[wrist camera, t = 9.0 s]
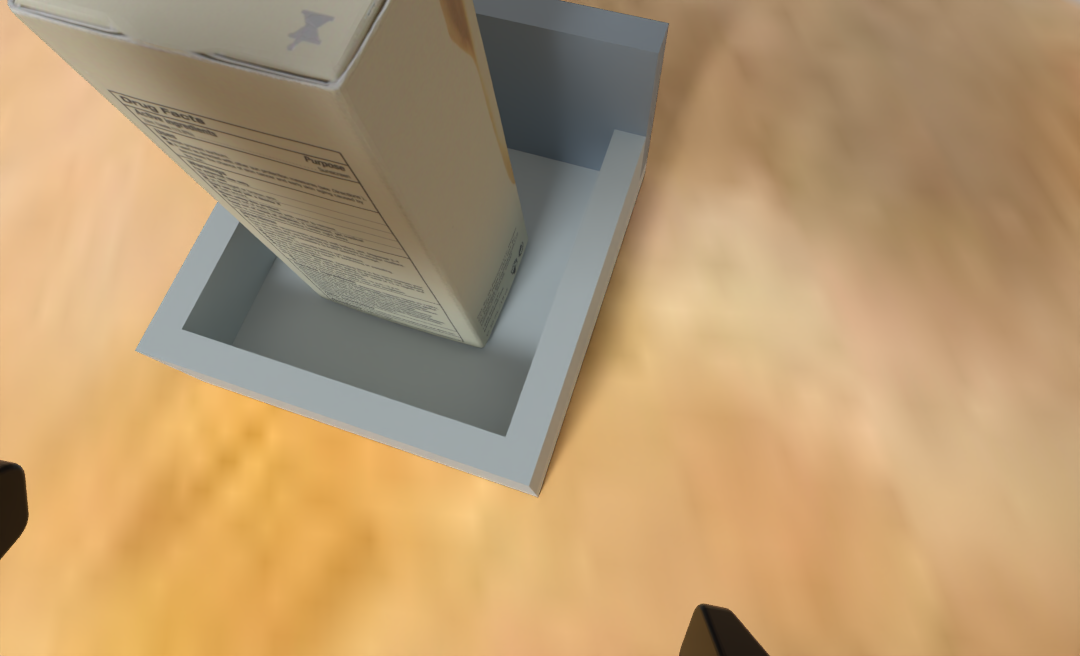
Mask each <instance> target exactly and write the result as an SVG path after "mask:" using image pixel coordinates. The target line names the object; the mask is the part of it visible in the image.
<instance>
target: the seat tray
mask: <svg viewBox="0 0 1080 656" xmlns="http://www.w3.org/2000/svg"><path fill="white" fill-rule="evenodd" d="M473 4H474V7H475V13H476V17H477V22H478V26H479V30H480V34H481V38H482V42H483V46H484V50H485V55H486V59H487V63H488V67H489V72H490V76H491V80H492V84H493V89H494V94H495V98H496V102H497V106H498V110H499V114H500V118H501V123H502V127H503V132H504V136H505V141H506V145H507V149H508V154H509V158H510V162H511V167H512V170H513V175H514V179H515V183H516V187H517V192H518V196H519V200H520V204H521V209H522V213H523V217H524V222H525V227H526V231H527V235H528V242H527V245H526V248H525V251H524V254H523V256H522V259H521V262H520V265H519V267H518V270H517V273H516V275H515V278H514V280H513V283H512V285H511V288H510V290H509V293H508V295H507V297H506V300H505V302H504V304H503V307H502V309H501V311H500V314H499V316H498V318H497V321H496V323H495V325H494V327H493V330H492V332H491V334H490V336H489V339H488V341H487V343H486V345H485V346H484V347H483V348H478V347H474V346H471V345H468V344H464V343H460V342H456V341H453V340H449V339H446V338H443V337H439V336H436V335H432V334H429V333H426V332H423V331H419V330H416V329H413V328H410V327H407V326H403V325H400V324H397V323H394V322H391V321H388V320H385V319H381V318H378V317H375V316H372V315H370V314H367V313H364V312H361V311H358V310H355V309H352V308H349V307H346V306H344V305H341V304H338V303H336V302H333V301H330V300H327V299H325V298H323V297H321V296H320V295H319V294H317V293H316V292H315V291H314V290H313V289H312V288H311V287H310V286H309V285H308V284H307V283H305V282H304V281H303V280H302V279H301V278H300V277H299V276H298V275H297V274H296V273H295V272H294V271H293V270H291V269H290V268H289V267H288V266H287V265H286V264H285V263H284V262H283V261H282V260H281V259H280V258H279V257H277V256H276V255H275V254H274V253H273V252H272V251H271V250H270V249H269V248H268V247H267V246H265V245H264V244H263V243H262V242H261V241H260V240H259V239H258V238H257V237H256V236H255V235H254V234H252V233H251V232H250V231H249V230H248V229H247V228H246V227H245V226H244V225H243V224H242V223H241V222H239V221H238V220H237V219H236V218H235V217H234V216H233V215H232V214H231V213H230V212H229V211H227V210H226V209H225V208H224V207H223V206H222V205H221V204H220V203H219V202H217V204H216V206H215V207H214V209H213V211H212V213H211V215H210V216H209V218H208V220H207V222H206V224H205V225H204V227H203V229H202V231H201V233H200V235H199V236H198V238H197V240H196V242H195V244H194V245H193V247H192V249H191V251H190V253H189V254H188V256H187V258H186V260H185V262H184V263H183V265H182V267H181V269H180V271H179V272H178V274H177V276H176V278H175V280H174V281H173V283H172V285H171V287H170V289H169V290H168V292H167V294H166V296H165V298H164V299H163V301H162V303H161V305H160V307H159V308H158V310H157V312H156V314H155V316H154V317H153V319H152V321H151V323H150V325H149V326H148V328H147V330H146V332H145V334H144V335H143V337H142V339H141V341H140V343H139V344H138V346H137V348H136V350H135V351H137V352H139V353H141V354H143V355H146V356H148V357H150V358H152V359H155V360H157V361H159V362H161V363H164V364H166V365H168V366H170V367H172V368H175V369H177V370H179V371H181V372H184V373H186V374H188V375H190V376H193V377H195V378H197V379H199V380H201V381H204V382H207V383H210V384H212V385H215V386H218V387H221V388H224V389H227V390H230V391H233V392H236V393H238V394H241V395H244V396H247V397H250V398H253V399H256V400H259V401H262V402H264V403H267V404H270V405H273V406H276V407H279V408H282V409H285V410H288V411H290V412H293V413H296V414H299V415H302V416H305V417H308V418H311V419H314V420H316V421H319V422H322V423H325V424H328V425H331V426H334V427H337V428H340V429H342V430H345V431H348V432H351V433H354V434H357V435H360V436H363V437H366V438H368V439H371V440H374V441H377V442H380V443H383V444H386V445H389V446H392V447H394V448H397V449H400V450H403V451H406V452H409V453H412V454H415V455H418V456H420V457H423V458H426V459H429V460H432V461H435V462H438V463H441V464H444V465H446V466H449V467H452V468H455V469H458V470H461V471H464V472H467V473H470V474H472V475H475V476H478V477H481V478H484V479H487V480H490V481H493V482H496V483H498V484H501V485H504V486H507V487H510V488H513V489H516V490H519V491H522V492H524V493H527V494H530V495H533V496H536V497H538V496H539V493H540V490H541V487H542V484H543V481H544V478H545V475H546V472H547V469H548V466H549V463H550V460H551V457H552V454H553V451H554V448H555V445H556V442H557V439H558V436H559V433H560V430H561V426H562V423H563V420H564V417H565V414H566V411H567V408H568V405H569V402H570V399H571V396H572V393H573V390H574V387H575V384H576V381H577V378H578V375H579V372H580V369H581V366H582V363H583V360H584V357H585V354H586V351H587V348H588V344H589V341H590V338H591V335H592V332H593V329H594V326H595V323H596V320H597V317H598V314H599V311H600V308H601V305H602V302H603V299H604V296H605V293H606V290H607V287H608V284H609V281H610V278H611V275H612V272H613V269H614V266H615V263H616V259H617V256H618V253H619V250H620V247H621V244H622V241H623V238H624V235H625V232H626V229H627V226H628V223H629V220H630V217H631V214H632V211H633V208H634V205H635V202H636V199H637V196H638V193H639V190H640V187H641V184H642V181H643V177H644V174H645V169H646V163H647V157H648V151H649V144H650V138H651V132H652V126H653V119H654V113H655V107H656V101H657V94H658V88H659V82H660V75H661V69H662V63H663V57H664V50H665V44H666V38H667V32H668V25H669V23H665V22H660V21H656V20H651V19H646V18H641V17H636V16H632V15H627V14H622V13H617V12H613V11H608V10H603V9H598V8H594V7H589V6H584V5H579V4H575V3H570V2H565V1H560V0H473Z"/></svg>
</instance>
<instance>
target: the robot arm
mask: <svg viewBox="0 0 1080 656" xmlns="http://www.w3.org/2000/svg"><path fill="white" fill-rule="evenodd" d="M28 515H29V513H28V502H27V491H26V480H25V473H24V470H23V469H22V467H21V466H20V465H18V464H16V463H12V462H7V461H3V460H0V559H1V558H2V557H3V556H4V555H5V553H6V552H7V551H8V550H9V549H10V548H11V546H12V545H13V544H14V543H15V542H16V540H17V539H18V538H19V537H20V535H21V534H22V532H23V531H24V529H25V527H26V524H27V521H28ZM679 656H769V654H768V653H767V652H766V651H765V650H764V649H763V647H762V646H761V645H760V644H759V643H758V641H757V640H756V639H755V638H754V637H753V636H752V634H751V633H750V632H749V631H748V630H747V629H746V627H745V626H744V625H743V624H742V623H741V621H740V620H739V619H738V618H737V617H736V616H735V614H734V613H733V612H732V611H730V610H729V609H727V608H723V607H718V606H713V605H709V604H700V605H698V606H697V607H696V609H695V611H694V613H693V616H692V618H691V621H690V624H689V627H688V629H687V632H686V635H685V638H684V640H683V643H682V646H681V649H680V653H679Z"/></svg>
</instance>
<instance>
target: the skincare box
mask: <svg viewBox="0 0 1080 656" xmlns="http://www.w3.org/2000/svg"><path fill="white" fill-rule="evenodd" d="M8 6H9V8H10V9H11V11H12V12H13V13H14V14H15V15H16V16H17V17H18V18H19V19H20V20H21V21H22V22H23V23H24V24H25V25H26V26H27V27H28V28H30V29H31V30H32V31H33V32H34V33H35V34H36V35H37V36H38V37H39V38H40V39H41V40H43V41H44V42H45V43H46V44H47V45H48V46H49V47H50V48H51V49H52V50H53V51H55V52H56V53H57V54H58V55H59V56H60V57H61V58H62V59H63V60H64V61H65V62H67V63H68V64H69V65H70V66H71V67H72V68H73V69H74V70H75V71H76V72H77V73H79V74H80V75H81V76H82V77H83V78H84V79H85V80H86V81H87V82H88V83H89V84H91V85H92V86H93V87H94V88H95V89H96V90H97V91H98V92H99V93H100V94H101V95H103V96H104V97H105V98H106V99H107V100H108V101H109V102H110V103H111V104H112V105H113V106H115V107H116V108H117V109H118V110H119V111H120V112H121V113H122V114H123V115H124V116H125V117H127V118H128V119H129V120H130V121H131V122H132V123H133V124H134V125H135V126H136V127H137V128H139V129H140V130H141V131H142V132H143V133H144V134H145V135H146V136H147V137H148V138H149V139H150V140H151V141H152V142H154V143H155V144H156V145H157V146H158V147H159V148H160V149H161V150H162V151H163V152H164V153H165V154H166V155H168V156H169V157H170V158H171V159H172V160H173V161H174V162H175V163H176V164H177V165H178V166H180V167H181V168H182V169H183V170H184V171H185V172H186V173H187V174H188V175H189V176H190V177H191V178H193V179H194V180H195V181H196V182H197V183H198V184H199V185H200V186H201V187H202V188H203V189H205V190H206V191H207V192H208V193H209V194H210V195H211V196H212V197H213V198H214V199H215V200H217V201H218V202H219V203H220V204H221V205H222V206H223V207H224V208H225V209H226V210H227V211H229V212H230V213H231V214H232V215H233V216H234V217H235V218H236V219H237V220H238V221H239V222H241V223H242V224H243V225H244V226H245V227H246V228H247V229H248V230H249V231H250V232H251V233H252V234H254V235H255V236H256V237H257V238H258V239H259V240H260V241H261V242H262V243H263V244H264V245H265V246H267V247H268V248H269V249H270V250H271V251H272V252H273V253H274V254H275V255H276V256H277V257H279V258H280V259H281V260H282V261H283V262H284V263H285V264H286V265H287V266H288V267H289V268H290V269H291V270H293V271H294V272H295V273H296V274H297V275H298V276H299V277H300V278H301V279H302V280H303V281H304V282H305V283H307V284H308V285H309V286H310V287H311V288H312V289H313V290H314V291H315V292H316V293H317V294H319V295H320V296H321V297H323V298H325V299H327V300H330V301H333V302H336V303H338V304H341V305H344V306H346V307H349V308H352V309H355V310H358V311H361V312H364V313H367V314H370V315H372V316H375V317H378V318H381V319H385V320H388V321H391V322H394V323H397V324H400V325H403V326H407V327H410V328H413V329H416V330H419V331H423V332H426V333H429V334H432V335H436V336H439V337H443V338H446V339H449V340H453V341H456V342H460V343H464V344H468V345H471V346H474V347H478V348H483V347H484V346H485V345H486V343H487V341H488V339H489V336H490V334H491V332H492V330H493V327H494V325H495V323H496V321H497V318H498V316H499V314H500V311H501V309H502V307H503V304H504V302H505V300H506V297H507V295H508V293H509V290H510V288H511V285H512V283H513V280H514V278H515V275H516V273H517V270H518V267H519V265H520V262H521V259H522V256H523V254H524V251H525V248H526V245H527V242H528V235H527V231H526V227H525V222H524V217H523V213H522V209H521V204H520V200H519V196H518V192H517V187H516V183H515V179H514V175H513V170H512V167H511V162H510V158H509V154H508V149H507V145H506V141H505V136H504V132H503V127H502V123H501V118H500V114H499V110H498V106H497V102H496V98H495V94H494V89H493V84H492V80H491V76H490V72H489V67H488V63H487V59H486V55H485V50H484V46H483V42H482V38H481V34H480V30H479V26H478V22H477V17H476V13H475V7H474V4H473V0H8Z"/></svg>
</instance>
